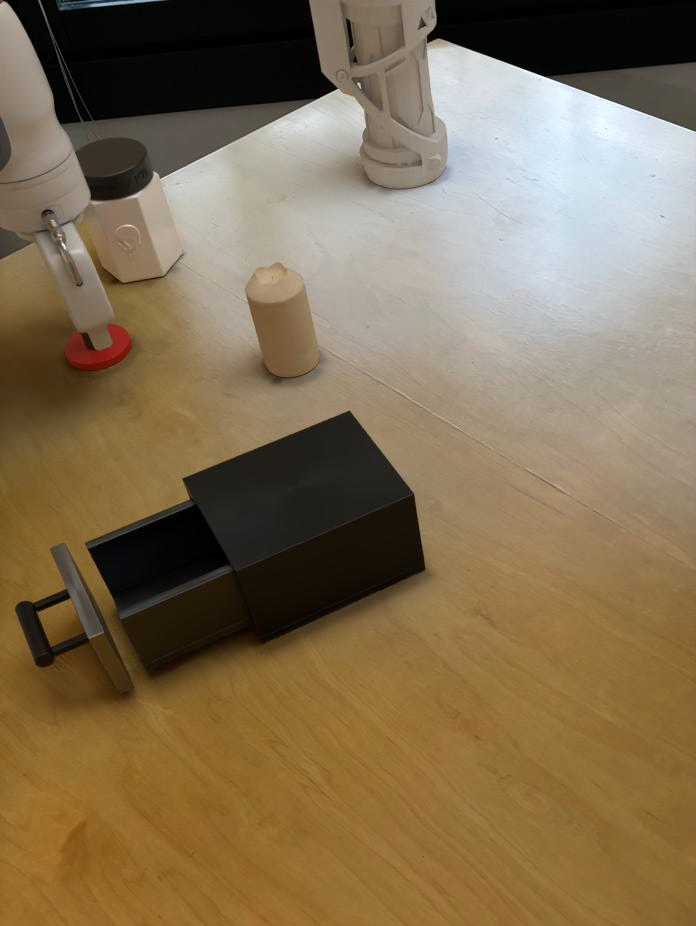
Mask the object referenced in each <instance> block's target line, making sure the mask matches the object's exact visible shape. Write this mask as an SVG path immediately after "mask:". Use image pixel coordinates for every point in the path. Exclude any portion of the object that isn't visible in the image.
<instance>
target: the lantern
mask: <svg viewBox="0 0 696 926" xmlns="http://www.w3.org/2000/svg"><path fill="white" fill-rule="evenodd" d="M308 1H309V7H310V13H311V18H312V24H313V30H314V36H315V41H316V47H317V53H318V58H319V64H320V70H321V73H322V74H323V75H324V76H325V77H326V78H327V79H328V80H329V81H330V82H331V83H332V84H333V85H334V86H335V87H336V88H337V89H338V90H339V91H340V92H341V93H342V94H344V95H348V96H351V97H352V98H354V99H355V100H356V102H357V103H358V104H359V105H360V107H361V108H362V109H363V115H364V123H365V128H364V129H363V131H362V135H361V137H362V143H361V145H360V147H359V156H360V160H361V163H362V168H363V169H364V171H365V173H366V176H367V177H368V179H369V180H370V181H371V182H372V183H374V184H375V185H378V186H380V187H383V188H387V189H397V190H401V189H402V190H403V189H412V188H417V187H422V186H425V185H427V184H430V183H431V182H433V181H435V180H437V179H438V178H439V177H440V176H441V175H442V174H443V173H444V172H445V169H446V167H447V161H448V148H449V142H448V132H447V125H446V122H444V120H442V119H441V118H440V117H438V116H437V115H436V114H435V108H434V107H435V106H434V102H433V96H432V88H431V79H430V78H431V77H430V68H429V57H428V35H430V34H431V32H432V31H433V30H434V29H435V27H436V25H437V12H436V0H308ZM347 20H348V21H349V23H350V30H351V36H352V42H353V45H352V47H351V44H350V38H349V32H348V24H347ZM355 58H356V62H354V60H355Z"/></svg>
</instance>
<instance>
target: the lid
mask: <svg viewBox="0 0 696 926" xmlns="http://www.w3.org/2000/svg"><path fill="white" fill-rule="evenodd" d="M107 329H108V332H109V334H110V337H111V339H112V346H110V347H108V348H105V349H102V350H96V349H95V348H94V346H93V344H92V342H91V339H90V337H89V335H88V333H87V332H86V333H80V332H79V331H77V332H76V333H74V334H73V335H71V336H70V337H69V339H68V340H67V341H66V343H65V345H64V347H63V348H64V350H63V352H64V355H65V356H66V360H67V362H68V364H70V365H71V366H72V367H74V368H75V369H79V370H82V371H83V370H84V371H96V370H97V371H98V370H103V369H106V368H109V367H111V366H115V365H116V364H117V363H119V362H121V361H122V360H124V359H125V358H126V357H127V355H128V354H129V353H130V351H131V349H132V346H133V342H132V339H131V335H130V334H129V331H128V330H127V329H126V328H125V327H123V326H121V325H119V324H113V323H111V324H109V325H107Z"/></svg>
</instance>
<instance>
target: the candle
mask: <svg viewBox="0 0 696 926" xmlns="http://www.w3.org/2000/svg"><path fill="white" fill-rule="evenodd" d="M244 293H245V297H246V300H247V303H248V308H249V311H250V315H251V319H252V322H253V326H254V330H255V333H256V336H257V337H256V338H257V341H258V344H259V348H260V352H261V355H262V358H263V362H264V365H265V368H266V369H267V370H268V372H270V374H272V375H274V376H277V377H282V378H294V377H299V376H302V375H305V374H307V373H309V372H311V371H312V370H313V369H315V368H316V367H317V365H318V364H319V362H320V358H321V357H320V355H321V353H320V349H319V342H318V339H317V334H316V329H315V325H314V321H313V315H312V311H311V307H310V303H309V298H308V294H307V289H306V285H305V281H304V277H303V276H302V275H301V274H300V273H299V272H298V271H296V270H294V269H293V268H291V267H288V266H286V265H285V264H283V263H282V262H280V261H277V262H276V261H275V262H274V263H273V264H271V265H269V266H259V267H256V268H255V269H254V271H253V273H252V275H251V276H250V278H249V279H248V280H247V282H246V284H245V287H244Z"/></svg>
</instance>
